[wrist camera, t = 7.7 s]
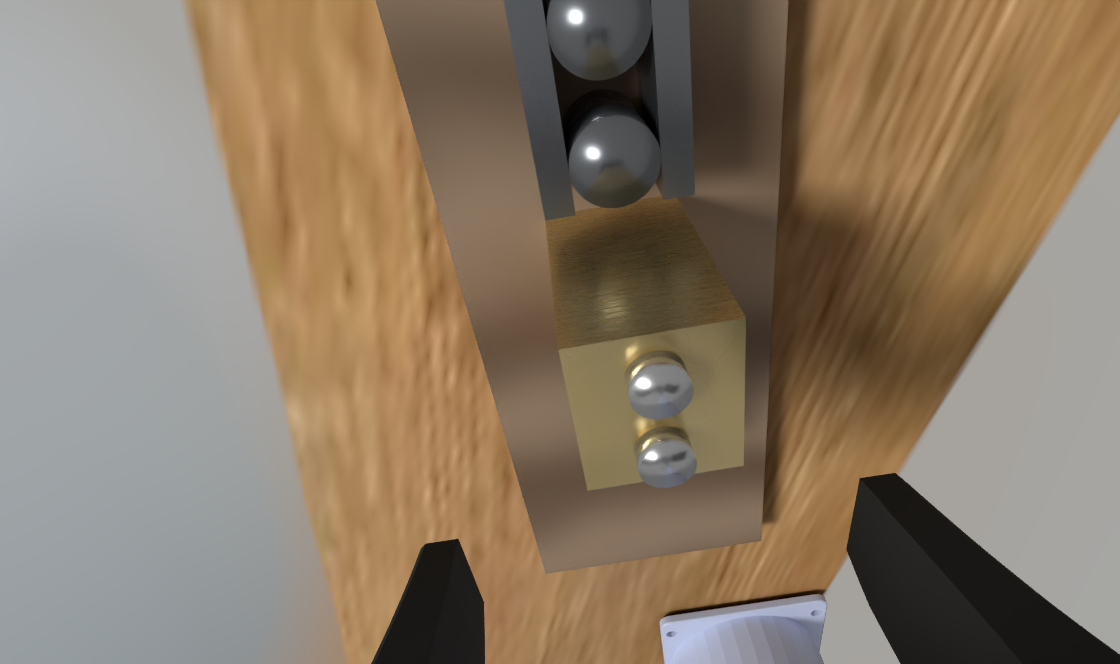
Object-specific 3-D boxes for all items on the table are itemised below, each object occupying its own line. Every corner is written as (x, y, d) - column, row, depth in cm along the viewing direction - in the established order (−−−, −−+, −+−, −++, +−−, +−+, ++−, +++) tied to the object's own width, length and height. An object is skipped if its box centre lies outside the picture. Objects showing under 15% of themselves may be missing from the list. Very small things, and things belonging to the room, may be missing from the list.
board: (753, 520, 26) (761, 540, 25) (545, 552, 26) (545, 573, 25) (776, -113, 13) (794, -115, 12) (375, -35, 14) (366, -32, 13)
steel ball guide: (686, 419, 21) (704, 473, 19) (588, 435, 21) (596, 490, 19) (660, -60, 13) (686, -55, 11) (502, -30, 13) (499, -19, 11)
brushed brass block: (682, 317, 18) (752, 487, 13) (567, 336, 18) (590, 512, 13) (674, 193, 16) (756, 336, 11) (545, 216, 16) (560, 370, 11)
